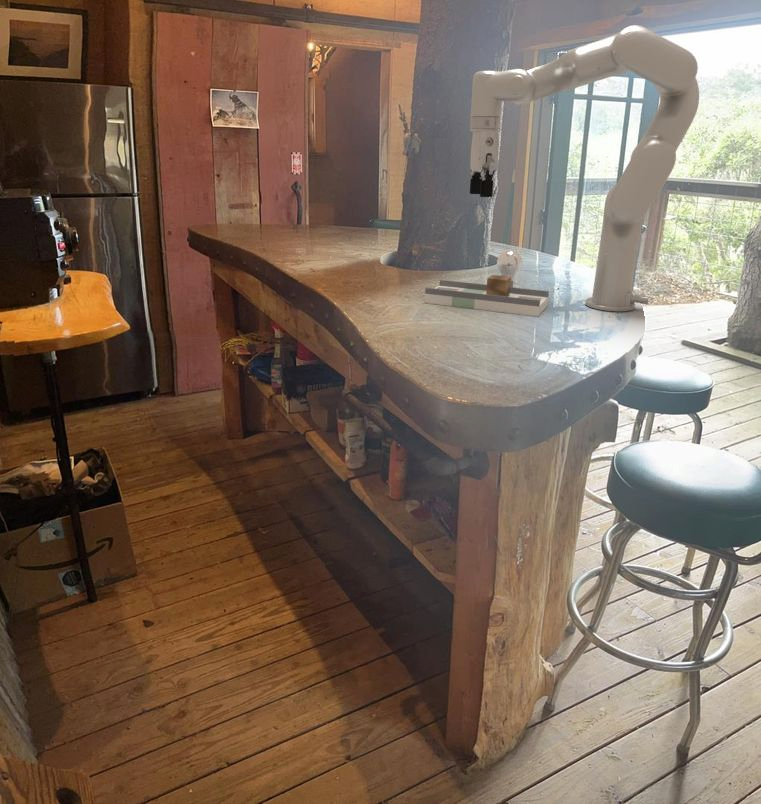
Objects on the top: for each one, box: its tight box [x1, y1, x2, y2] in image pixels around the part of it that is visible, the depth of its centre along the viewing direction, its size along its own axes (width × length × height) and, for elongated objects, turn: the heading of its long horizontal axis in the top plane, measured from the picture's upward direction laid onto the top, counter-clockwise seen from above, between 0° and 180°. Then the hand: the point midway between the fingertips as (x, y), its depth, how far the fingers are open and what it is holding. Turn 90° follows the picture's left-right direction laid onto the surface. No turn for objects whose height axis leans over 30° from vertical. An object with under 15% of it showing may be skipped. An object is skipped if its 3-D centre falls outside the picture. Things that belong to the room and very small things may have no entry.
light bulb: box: [496, 248, 523, 288], centre depth 186 cm, size 7×7×12 cm
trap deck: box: [424, 279, 550, 317], centre depth 171 cm, size 30×12×4 cm, turn 66°
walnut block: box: [486, 274, 511, 297], centre depth 169 cm, size 5×5×5 cm
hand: (480, 195), depth 172 cm, fingers open, 9 cm apart
